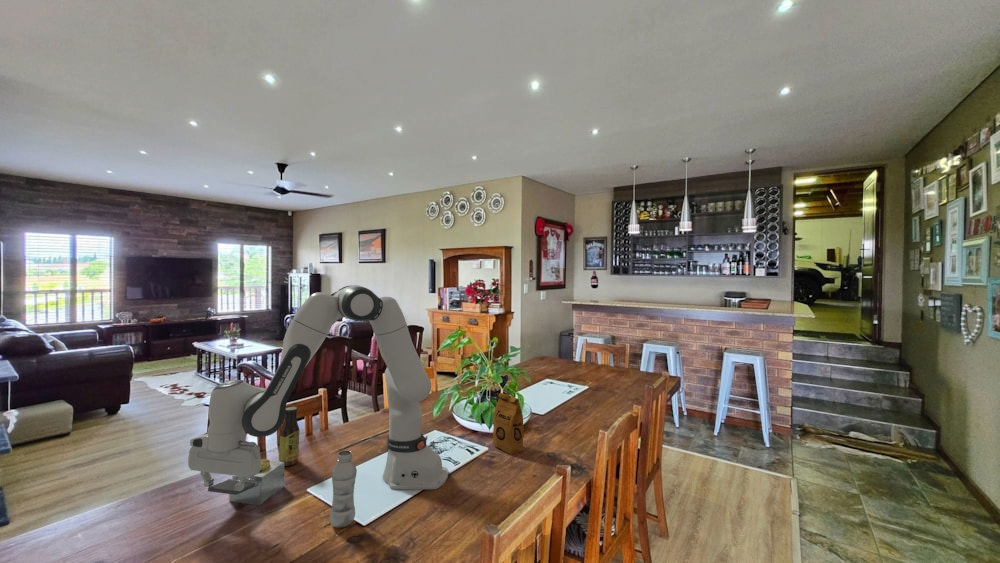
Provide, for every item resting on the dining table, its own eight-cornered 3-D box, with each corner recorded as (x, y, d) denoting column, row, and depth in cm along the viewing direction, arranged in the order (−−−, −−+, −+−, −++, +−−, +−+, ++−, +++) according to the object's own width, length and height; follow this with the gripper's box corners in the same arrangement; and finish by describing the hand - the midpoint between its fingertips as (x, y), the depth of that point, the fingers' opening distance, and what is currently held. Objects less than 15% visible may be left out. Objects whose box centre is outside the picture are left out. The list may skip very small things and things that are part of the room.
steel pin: (272, 488, 130) (273, 460, 130) (260, 496, 125) (261, 467, 125) (258, 486, 131) (258, 458, 131) (245, 494, 126) (246, 465, 126)
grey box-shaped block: (283, 486, 132) (284, 462, 132) (259, 505, 121) (259, 478, 121) (256, 483, 134) (256, 458, 133) (229, 501, 123) (229, 475, 123)
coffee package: (508, 457, 159) (510, 401, 159) (489, 446, 169) (491, 393, 168) (527, 451, 165) (529, 397, 165) (507, 440, 175) (509, 390, 174)
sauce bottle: (290, 468, 144) (291, 412, 144) (274, 465, 146) (276, 410, 145) (302, 459, 151) (304, 406, 151) (287, 457, 152) (289, 405, 152)
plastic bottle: (333, 517, 117) (335, 448, 116) (357, 517, 117) (359, 448, 117) (326, 531, 110) (328, 458, 110) (351, 531, 111) (353, 458, 110)
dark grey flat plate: (257, 486, 121) (258, 481, 121) (236, 495, 113) (237, 490, 113) (229, 482, 122) (230, 478, 122) (206, 491, 114) (207, 487, 114)
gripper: (267, 438, 116) (265, 486, 116) (204, 431, 119) (201, 478, 119) (251, 447, 110) (248, 498, 110) (184, 439, 113) (182, 489, 113)
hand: (223, 487), depth 114 cm, fingers open, 8 cm apart
